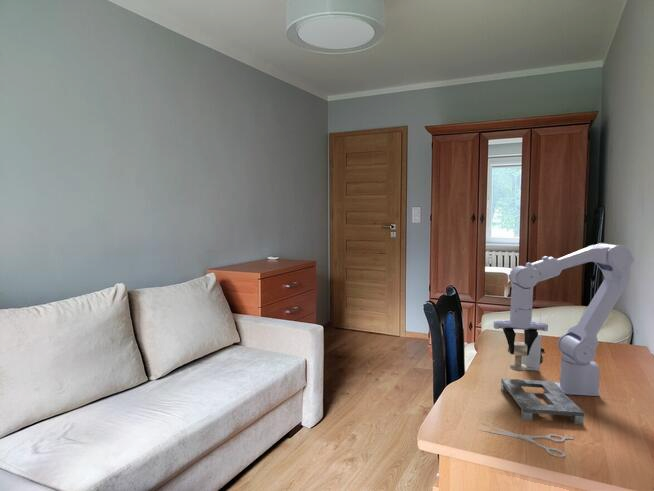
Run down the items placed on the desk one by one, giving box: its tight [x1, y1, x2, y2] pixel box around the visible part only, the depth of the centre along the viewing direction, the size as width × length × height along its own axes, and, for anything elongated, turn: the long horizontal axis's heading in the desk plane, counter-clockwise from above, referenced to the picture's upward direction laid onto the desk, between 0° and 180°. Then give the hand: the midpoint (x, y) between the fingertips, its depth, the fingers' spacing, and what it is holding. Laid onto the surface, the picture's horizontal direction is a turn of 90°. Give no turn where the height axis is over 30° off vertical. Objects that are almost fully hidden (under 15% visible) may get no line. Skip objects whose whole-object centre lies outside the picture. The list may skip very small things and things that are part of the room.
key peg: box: [509, 341, 527, 372], centre depth 129 cm, size 4×4×8 cm
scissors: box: [481, 423, 574, 458], centre depth 101 cm, size 11×1×20 cm
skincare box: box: [522, 331, 543, 372], centre depth 147 cm, size 6×4×12 cm
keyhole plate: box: [500, 378, 585, 425], centre depth 119 cm, size 14×20×3 cm
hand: (518, 353), depth 129 cm, fingers closed on key peg, 3 cm apart
